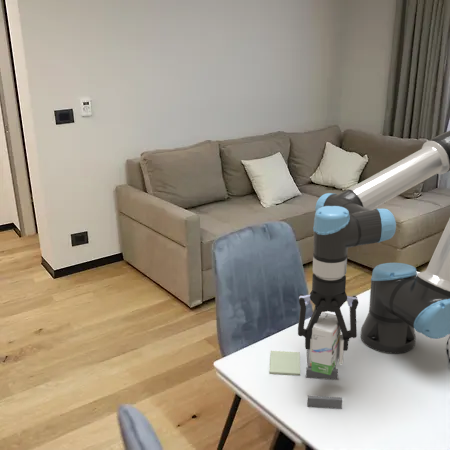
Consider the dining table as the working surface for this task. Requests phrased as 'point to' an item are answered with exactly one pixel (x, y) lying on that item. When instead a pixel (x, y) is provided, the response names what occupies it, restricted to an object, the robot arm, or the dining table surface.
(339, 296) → the robot arm
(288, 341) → the dining table surface
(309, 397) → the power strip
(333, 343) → the ink box
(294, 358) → the felt pad
